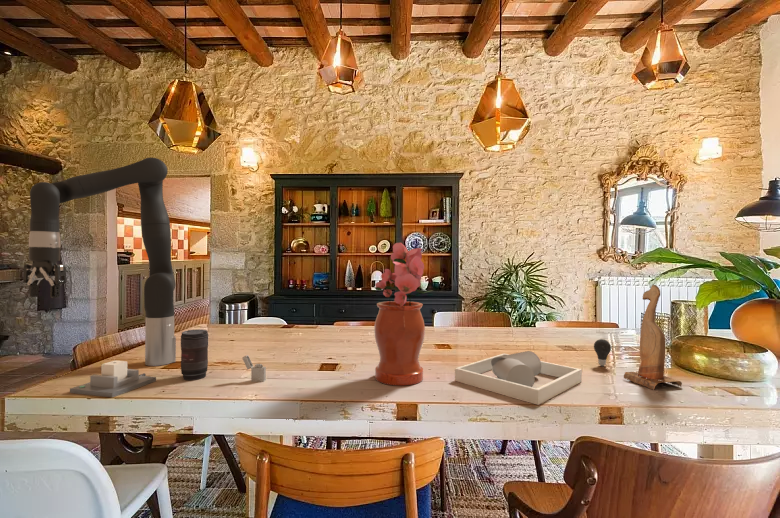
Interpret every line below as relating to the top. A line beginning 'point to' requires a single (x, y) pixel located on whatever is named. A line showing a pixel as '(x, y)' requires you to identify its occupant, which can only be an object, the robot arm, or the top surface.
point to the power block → (113, 384)
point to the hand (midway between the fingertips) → (44, 297)
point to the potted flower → (400, 321)
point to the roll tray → (529, 394)
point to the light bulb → (602, 350)
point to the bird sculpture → (651, 347)
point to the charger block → (115, 369)
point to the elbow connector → (517, 367)
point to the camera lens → (194, 354)
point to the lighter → (255, 370)
